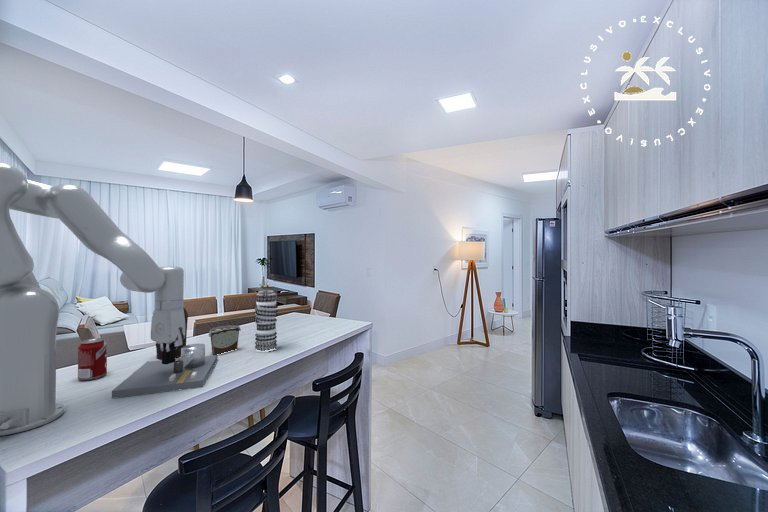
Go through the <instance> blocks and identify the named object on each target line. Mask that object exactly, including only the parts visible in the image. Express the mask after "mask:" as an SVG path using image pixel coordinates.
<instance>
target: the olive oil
mask: <svg viewBox="0 0 768 512" xmlns="http://www.w3.org/2000/svg"><path fill="white" fill-rule="evenodd" d="M183 310H184V316H185V338H184V340H182V343H183V344H182V345H180V346H177V349H176V356H175V359H179V358H181V347H183V346H186V345H187V336H188V335H187V334H188V333H187V332H188V319H189V314H188V312H187V309H186V308H185V307H184V306H183ZM155 349H156V359H158V360H162V351H161V347H160V344H158V343H156V342H155Z"/></svg>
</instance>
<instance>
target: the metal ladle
mask: <svg viewBox="0 0 768 512" xmlns="http://www.w3.org/2000/svg"><path fill="white" fill-rule="evenodd" d="M205 356H206V344H205V343H190V344H186V346H183V347H181V357H179V358H178V359H179V360H178V361H175V362H174V370H173V373H181V372H183V368H190V367H196V366H200V365H202V364H204V363H205Z"/></svg>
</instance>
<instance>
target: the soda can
mask: <svg viewBox="0 0 768 512" xmlns="http://www.w3.org/2000/svg"><path fill="white" fill-rule="evenodd" d="M107 373H108V343H107V342H106V341H105V338H103V337H96V338H95V337H94V338H89V339H84V340H82V341H81V342H80V345H79V346H78V347H77V379H78V380H81V381H85V380H86V381H92V379H93V380H96V378H97V379H100V378H102V377H104V376H105V375H106V374H107Z"/></svg>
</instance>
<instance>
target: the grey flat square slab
mask: <svg viewBox="0 0 768 512" xmlns="http://www.w3.org/2000/svg"><path fill="white" fill-rule="evenodd" d="M179 359H180V358H175V361H178V360H179ZM216 361H217V362H218V355H205V363H204V364H202V365H200V366H196V367H190V368H183V372H181V373H173V370H174V362H173V363H170V364H167V365H166V364H162V359H158V360H152V361H151V360H149V361H146V362H145V363H144V364H143V365H141V366H140V367H139V368H138V369H136V370H135V371H134V372H133V373H132V374H131V375H129V376H128V377H127V378H126V379H124V380H123V381H122V382H121V383H120V384H118V385H117V386H115V388H114V389H112V390H111V399H116V398H118V399H119V398H125V397H130V396H131V397H132V396H141V395H147V394H148V395H149V394H150V395H151V394H158V393H165V392H174V391H180V390H179V389H182V390H188V388H191V389H198V388H197V387H199V388H203V387H204V386H205V384H206V382H207V380H208V379H209V377H208V376H210V375H209V374H211V373H212V371H213V369H214V368H215V366H214V365H216V364H217V362H216ZM215 363H216V364H215ZM203 385H204V386H203ZM173 390H174V391H173ZM157 392H158V393H157Z"/></svg>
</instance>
